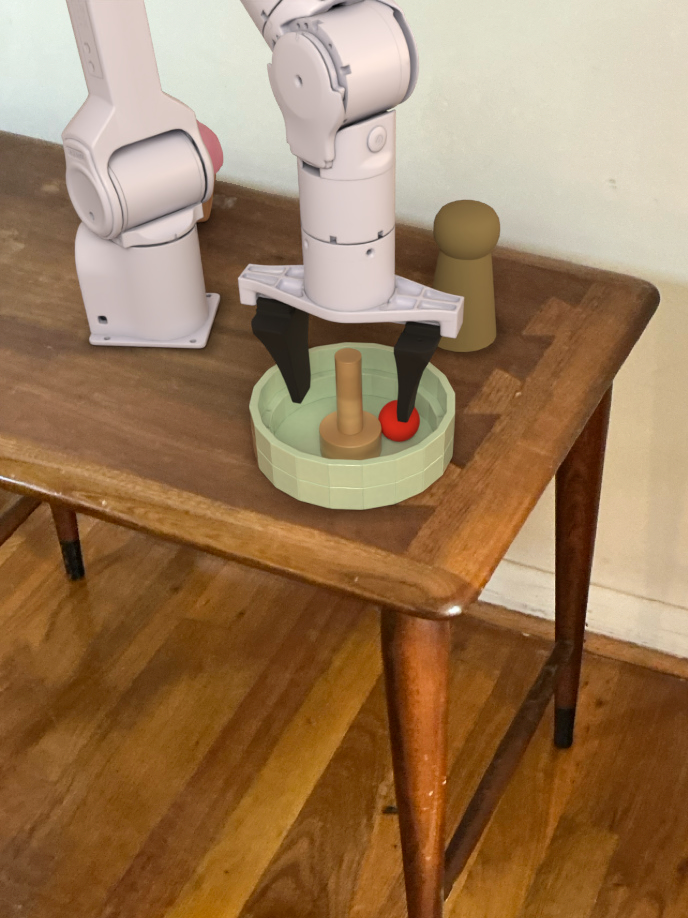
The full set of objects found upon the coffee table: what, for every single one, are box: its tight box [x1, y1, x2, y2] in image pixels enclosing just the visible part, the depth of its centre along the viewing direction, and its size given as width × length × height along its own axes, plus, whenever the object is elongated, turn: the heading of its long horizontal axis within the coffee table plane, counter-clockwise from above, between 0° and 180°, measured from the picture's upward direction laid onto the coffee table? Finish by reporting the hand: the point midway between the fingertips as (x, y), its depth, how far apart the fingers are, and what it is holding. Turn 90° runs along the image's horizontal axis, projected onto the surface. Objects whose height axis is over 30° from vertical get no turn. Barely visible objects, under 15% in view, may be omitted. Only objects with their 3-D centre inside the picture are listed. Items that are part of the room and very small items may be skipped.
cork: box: [431, 199, 501, 353], centre depth 82 cm, size 6×6×11 cm
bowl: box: [248, 341, 456, 511], centre depth 73 cm, size 14×14×4 cm
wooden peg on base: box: [319, 348, 382, 460], centre depth 71 cm, size 4×4×8 cm
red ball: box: [378, 400, 420, 442], centre depth 74 cm, size 3×3×3 cm
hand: (353, 404), depth 72 cm, fingers open, 7 cm apart
